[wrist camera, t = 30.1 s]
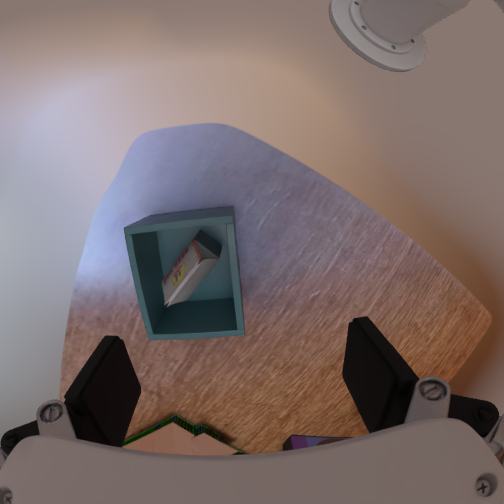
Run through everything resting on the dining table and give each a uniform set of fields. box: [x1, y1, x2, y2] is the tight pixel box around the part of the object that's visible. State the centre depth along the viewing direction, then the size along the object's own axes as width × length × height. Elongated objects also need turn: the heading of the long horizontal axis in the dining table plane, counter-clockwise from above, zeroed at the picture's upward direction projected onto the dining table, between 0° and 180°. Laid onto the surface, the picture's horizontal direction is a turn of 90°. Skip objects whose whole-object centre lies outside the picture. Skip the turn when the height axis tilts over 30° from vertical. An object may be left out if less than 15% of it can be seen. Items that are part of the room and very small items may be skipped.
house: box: [122, 414, 247, 456], centre depth 46 cm, size 23×33×8 cm
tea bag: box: [161, 229, 222, 307], centre depth 32 cm, size 4×7×10 cm, turn 141°
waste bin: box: [124, 206, 245, 340], centre depth 33 cm, size 14×12×10 cm
